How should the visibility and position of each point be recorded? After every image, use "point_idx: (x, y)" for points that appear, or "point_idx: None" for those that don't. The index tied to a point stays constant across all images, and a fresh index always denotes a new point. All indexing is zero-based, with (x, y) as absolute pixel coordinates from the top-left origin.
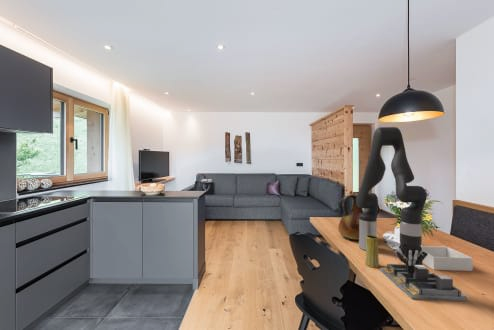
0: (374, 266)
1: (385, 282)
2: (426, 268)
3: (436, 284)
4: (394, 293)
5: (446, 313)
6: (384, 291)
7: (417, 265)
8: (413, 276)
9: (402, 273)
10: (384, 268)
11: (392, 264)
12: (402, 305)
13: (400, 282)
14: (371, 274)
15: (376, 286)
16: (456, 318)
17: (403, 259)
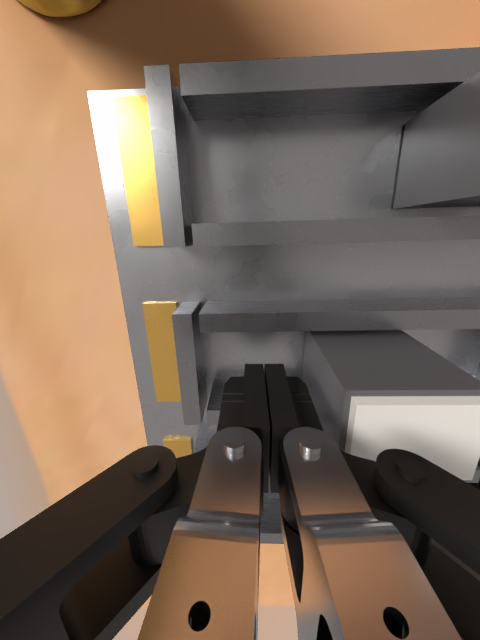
0: (52, 6)
1: (84, 335)
2: (459, 473)
3: None
4: (96, 449)
5: (260, 562)
6: (45, 434)
7: (401, 417)
8: (309, 339)
9: (214, 330)
10: (122, 124)
11: (214, 82)
12: None
13: (157, 398)
14: (2, 208)
15: (9, 388)
16: (276, 582)
17: (94, 621)
